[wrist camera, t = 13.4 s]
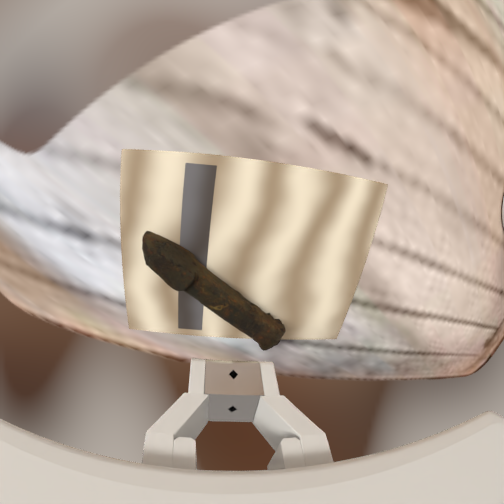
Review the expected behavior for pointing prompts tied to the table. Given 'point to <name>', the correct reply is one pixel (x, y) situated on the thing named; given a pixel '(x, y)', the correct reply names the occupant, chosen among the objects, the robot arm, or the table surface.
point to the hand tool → (209, 290)
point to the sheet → (246, 239)
